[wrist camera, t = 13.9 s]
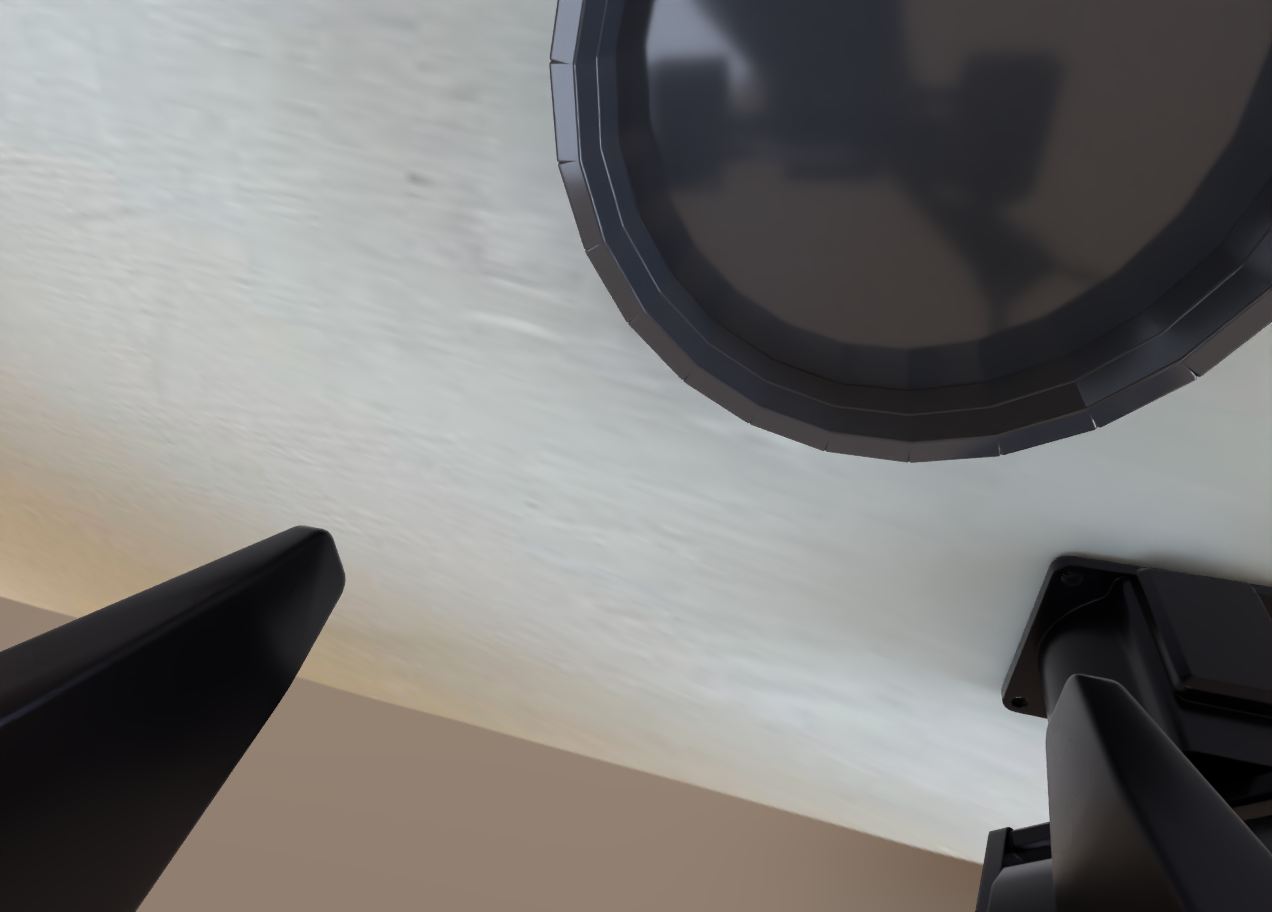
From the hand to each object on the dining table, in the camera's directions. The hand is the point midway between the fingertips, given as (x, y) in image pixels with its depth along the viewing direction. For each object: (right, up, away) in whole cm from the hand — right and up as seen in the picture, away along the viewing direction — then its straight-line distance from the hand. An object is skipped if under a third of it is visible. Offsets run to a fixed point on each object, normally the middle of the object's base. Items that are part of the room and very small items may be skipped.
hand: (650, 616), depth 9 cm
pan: (+6, +10, +7) cm, 14 cm away
